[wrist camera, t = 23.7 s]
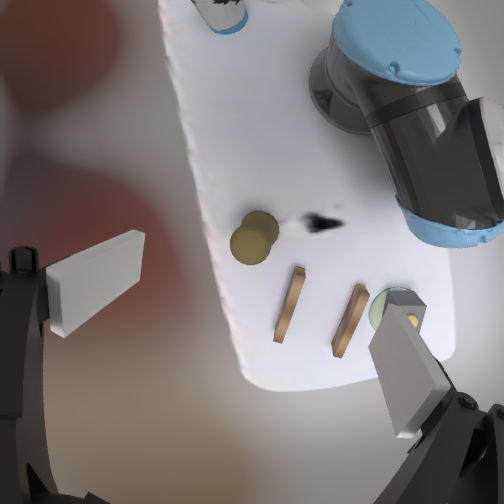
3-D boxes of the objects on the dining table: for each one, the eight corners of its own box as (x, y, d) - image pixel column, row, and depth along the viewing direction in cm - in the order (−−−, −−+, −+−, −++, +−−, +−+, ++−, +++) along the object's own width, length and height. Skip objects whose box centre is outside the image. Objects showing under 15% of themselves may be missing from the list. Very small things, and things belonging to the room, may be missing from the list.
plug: (387, 290, 44) (399, 308, 38) (413, 291, 44) (429, 308, 37) (381, 317, 46) (392, 338, 39) (407, 317, 45) (420, 337, 38)
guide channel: (295, 266, 47) (295, 274, 43) (364, 285, 46) (369, 295, 42) (275, 329, 50) (273, 341, 46) (339, 345, 49) (341, 358, 46)
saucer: (381, 281, 45) (382, 283, 44) (424, 294, 45) (426, 296, 44) (361, 327, 48) (362, 330, 47) (403, 337, 47) (404, 340, 46)
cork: (275, 207, 45) (268, 219, 34) (281, 246, 46) (277, 268, 36) (237, 214, 46) (219, 227, 36) (244, 251, 47) (229, 274, 37)
